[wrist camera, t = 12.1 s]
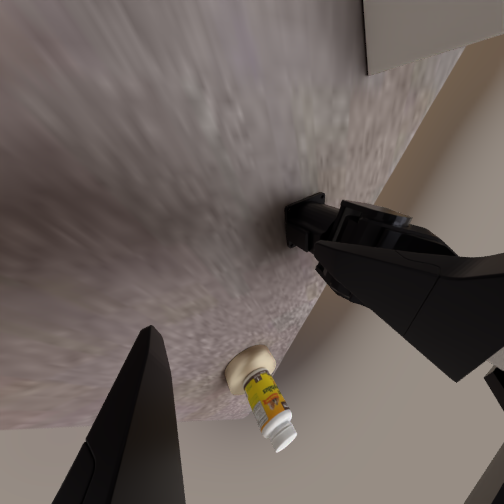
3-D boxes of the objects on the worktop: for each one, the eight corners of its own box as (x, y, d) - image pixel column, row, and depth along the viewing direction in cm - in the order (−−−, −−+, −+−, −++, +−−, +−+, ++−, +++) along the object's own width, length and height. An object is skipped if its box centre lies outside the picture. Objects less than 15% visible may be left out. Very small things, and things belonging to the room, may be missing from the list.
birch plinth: (264, 337, 35) (273, 350, 33) (270, 359, 41) (278, 372, 39) (218, 366, 33) (224, 382, 30) (231, 386, 38) (237, 401, 36)
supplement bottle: (271, 365, 36) (307, 425, 28) (257, 384, 37) (287, 448, 29) (251, 367, 32) (286, 437, 24) (236, 388, 33) (264, 462, 25)
